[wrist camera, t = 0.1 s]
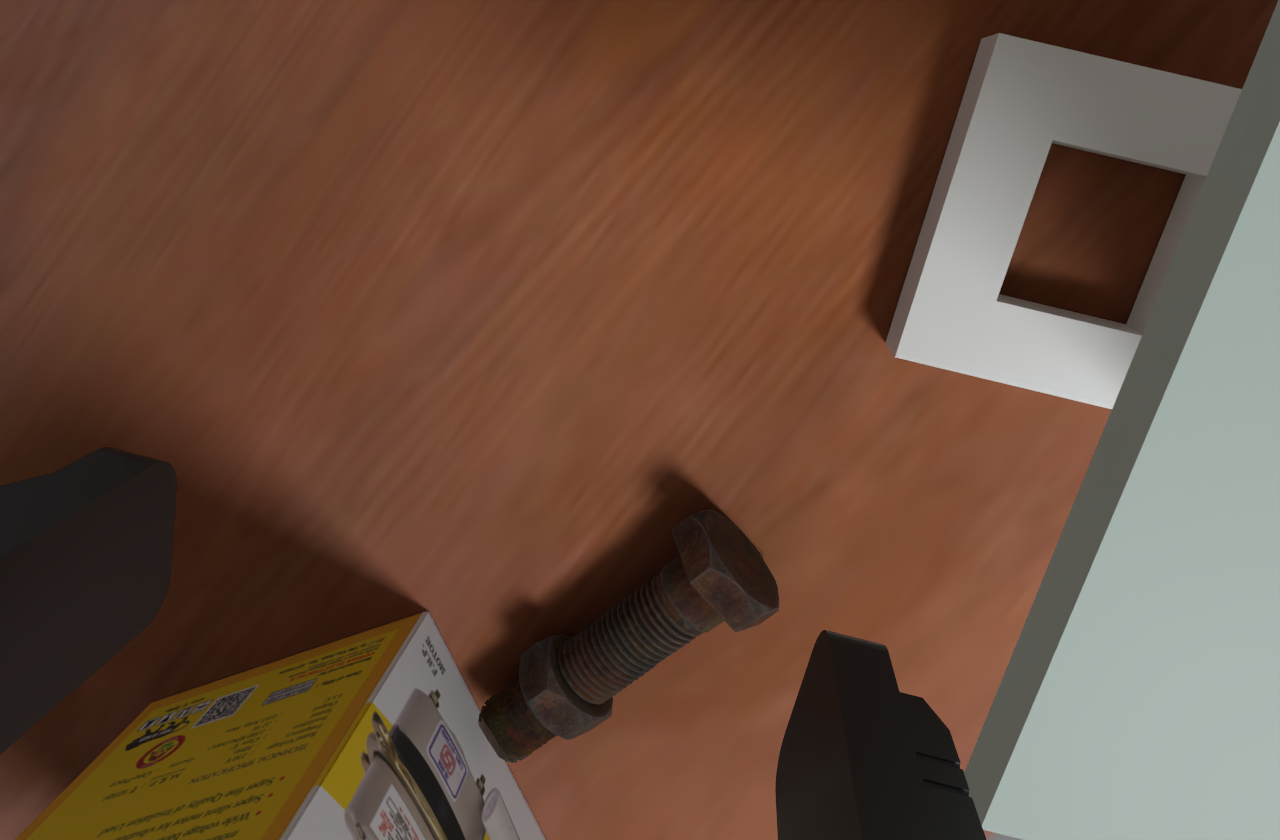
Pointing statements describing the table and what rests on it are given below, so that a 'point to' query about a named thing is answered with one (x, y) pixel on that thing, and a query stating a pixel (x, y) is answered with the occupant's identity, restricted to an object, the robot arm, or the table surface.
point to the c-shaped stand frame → (1168, 555)
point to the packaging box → (306, 755)
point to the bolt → (632, 638)
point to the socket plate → (1002, 193)
